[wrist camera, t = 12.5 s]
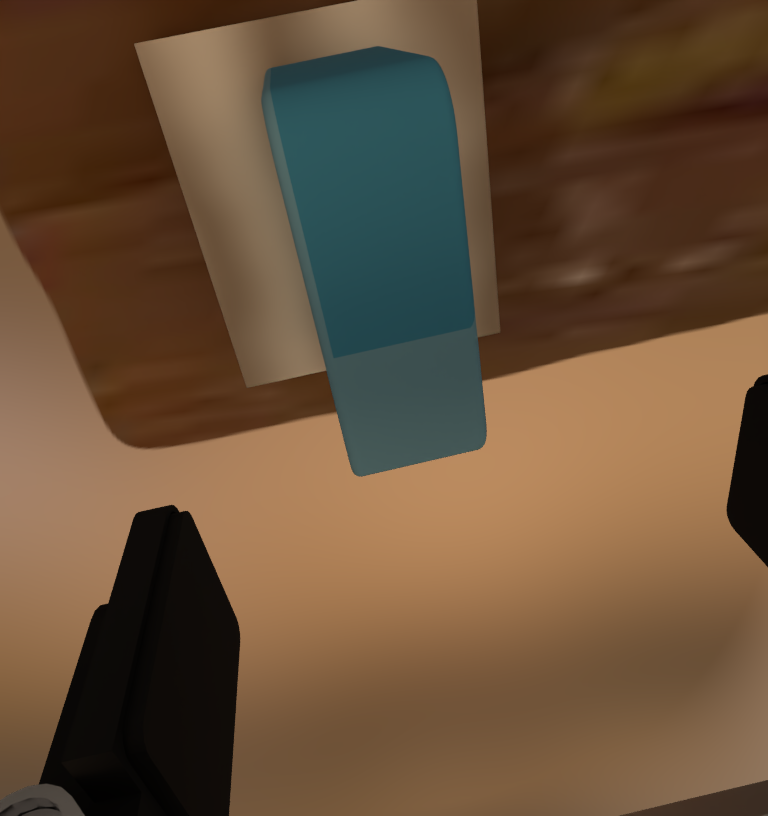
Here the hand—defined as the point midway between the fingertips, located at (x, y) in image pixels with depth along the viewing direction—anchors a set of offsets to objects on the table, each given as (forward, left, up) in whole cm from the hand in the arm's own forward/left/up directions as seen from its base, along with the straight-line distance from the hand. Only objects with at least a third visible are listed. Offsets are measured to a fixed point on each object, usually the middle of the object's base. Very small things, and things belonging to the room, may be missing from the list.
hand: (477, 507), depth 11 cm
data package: (0, 0, -20) cm, 20 cm away
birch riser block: (0, 0, -25) cm, 25 cm away
